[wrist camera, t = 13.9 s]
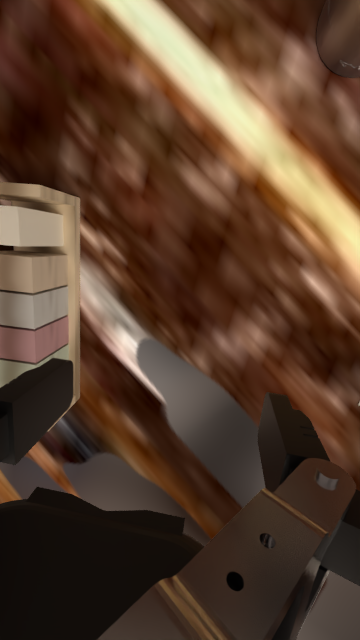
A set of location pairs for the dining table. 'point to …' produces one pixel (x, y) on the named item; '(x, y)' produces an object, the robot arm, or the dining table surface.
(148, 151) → the dining table surface
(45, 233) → the cream block
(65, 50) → the dining table surface
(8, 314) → the pastel slab stack
